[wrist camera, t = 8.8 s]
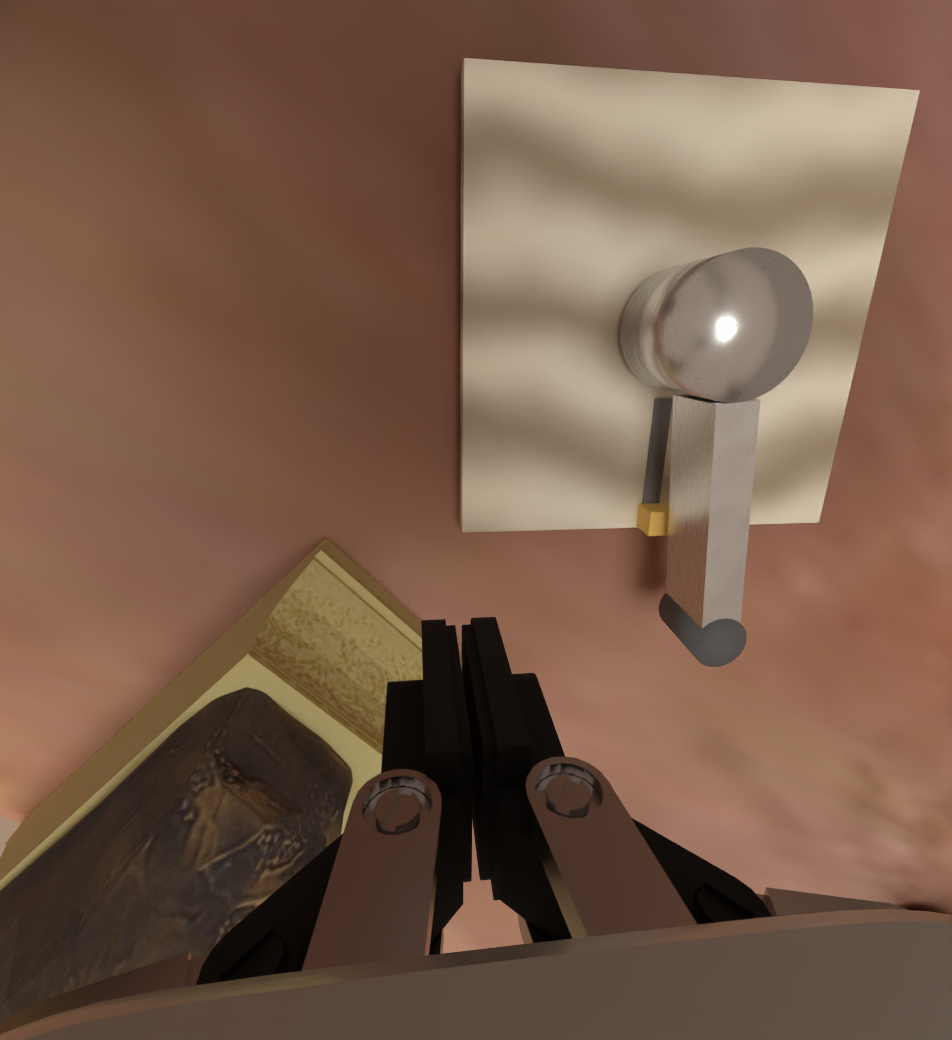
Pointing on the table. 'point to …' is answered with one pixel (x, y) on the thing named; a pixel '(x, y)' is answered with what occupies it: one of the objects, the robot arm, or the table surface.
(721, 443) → the capstan lever
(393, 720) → the robot arm
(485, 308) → the dial base
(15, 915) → the decorative clock
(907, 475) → the table surface
